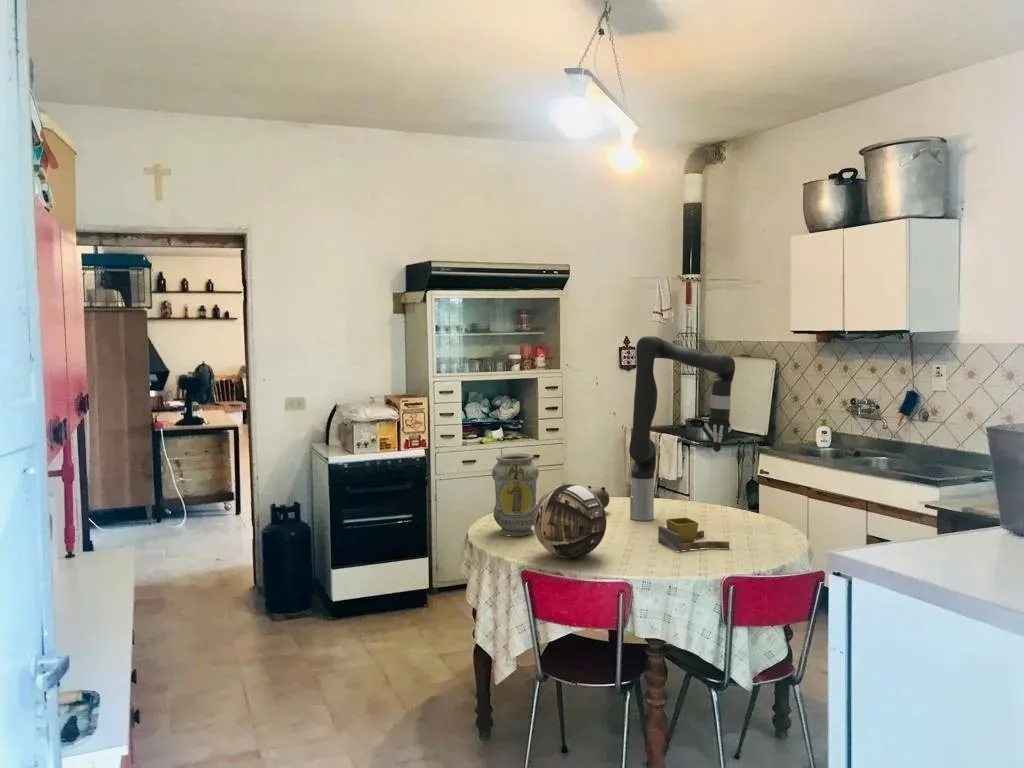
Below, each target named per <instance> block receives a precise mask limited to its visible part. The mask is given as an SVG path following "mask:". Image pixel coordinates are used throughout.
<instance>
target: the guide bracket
mask: <svg viewBox="0 0 1024 768" xmlns="http://www.w3.org/2000/svg"><path fill="white" fill-rule="evenodd" d="M657 527H658V528H657V529H658V531H657V533H658V535H657V537H658V541H657V543H658V542H659V544H660V543H661V544H660V545H662V544H663V545H662V546H664V545H665V546H664V547H666V546H667V547H666V548H668V547H669V548H668V549H670V548H671V549H670V550H672V549H673V550H672V551H674V550H675V551H674V552H676V551H682V550H690V549H700V548H728V549H727V550H730V541H723V540H722V541H721V540H717V541H716V540H707V541H706V540H705V541H696V542H695V541H694V542H693V543H682V544H681V535H680V534H678V533H676V532H674V531H672V530H670V529H667V527H665V526H663V525H659V526H657ZM702 537H704V538H705V530H702V529H701V530H697V536H696V539H697V540H699V539H698V538H700V539H703V538H702ZM682 552H683V551H682Z"/></svg>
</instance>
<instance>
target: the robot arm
mask: <svg viewBox="0 0 1024 768" xmlns="http://www.w3.org/2000/svg"><path fill="white" fill-rule="evenodd" d="M635 358H636V359H635V361H636V365H635V367H636V370H635V373H636V374H635V384H634V385H635V387H634V397H633V416H632V431H631V434H630V435H631V437H630V441H629V447H628V451H629V456H630V458H631V459H632V460H633V461H634V462H633V463H634V464H633V466H632V469H631V471H630V472H631V474H630V475H631V476H630V477H631V478H630V479H631V480H630V481H631V482H630V483H631V484H630V486H631V489H630V491H631V493H630V494H631V495H630V496H629V497H630V499H629V501H630V502H629V519H630V520H635V521H640V522H642V521H643V522H646V521H652V520H654V518H655V517H654V515H655V513H654V512H655V511H654V510H655V508H654V507H655V505H654V504H655V503H654V501H655V472H656V466H657V463H656V461H657V447H656V445H655V442H654V441H653V440H652V439H651V438H650V437H651V436H650V433H651V426H652V424H653V420H654V417H655V415H656V411H657V406H658V405H657V404H658V388H657V384H656V379H655V375H654V365H655V359H665V360H672V361H675V362H678V363H680V364H683V365H686V366H689V367H693V368H696V369H697V368H698V369H702V370H705V371H708V372H711V373H714V374H716V379H715V380H714V381H713V383H712V388H711V398H710V406H709V417H708V418H709V419H708V421H707V423H706V424H705V425H704V426H703V425H702V427H701V429H702V431H703V432H704V433H705V435H706V437H707V438H708V440H710V441H712V442H713V443H712V444H713V445H712V451H714V452H716V453H719V452H720V451H721V449H722V443H723V442H726V441H727V440H728V439H729V438H730V437H731V436H732V435H733V434H734V433H735V432H736V429H735V428H733V427H732V426H731V422H730V417H731V416H730V414H731V413H730V412H731V407H732V406H731V394H732V393H731V392H732V383H733V379H734V376H735V372H736V363H735V360H734V358H733V357H732V356H730V355H721V354H720V355H719V354H714V353H710V352H708V351H705V350H702V349H697V348H693V347H688V346H687V347H686V346H683V345H678V344H675V343H672V342H669V341H667V340H664V339H662V338H659V337H658V336H653V335H647V336H645V335H644V336H642V337H640V339H638V341H637V343H636V347H635ZM709 429H710V431H711V432H712V433H713V434H711V432H710V431H709ZM727 431H728V433H727V434H726V435H725V436H724V435H723V434H725V433H726V432H727Z"/></svg>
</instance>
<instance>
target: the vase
mask: <svg viewBox="0 0 1024 768" xmlns="http://www.w3.org/2000/svg"><path fill="white" fill-rule="evenodd" d="M495 459H496V461H497V463H495V464H494V466H493V467H492V469H491V476H492V479H493V481H494V488H495V489H494V492H495V505H494V508H493V514H492V515H493V519H494V521H495V522H496V524H497V525H498V526H499V527H500V528H501V529H500V531H499V533H500V534H501V533H502V534H504V535H510V536H521V537H526V536H525V535H528V536H530V534H531V535H533V533H534V530H533V529H532V527H534V523H533V519H534V512H535V509H536V506H537V504H538V503H537V480H538V478H539V475H540V474H539V468H538V466H537V465H536V464H535V463H534V462H533V459H534V454H531V453H524V452H523V453H521V452H515V453H514V452H512V453H503V454H497V455H496V456H495ZM502 534H501V535H502ZM504 535H503V536H504ZM510 536H509V537H510Z"/></svg>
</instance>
